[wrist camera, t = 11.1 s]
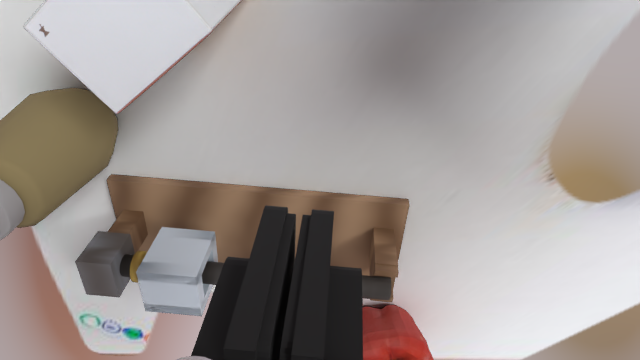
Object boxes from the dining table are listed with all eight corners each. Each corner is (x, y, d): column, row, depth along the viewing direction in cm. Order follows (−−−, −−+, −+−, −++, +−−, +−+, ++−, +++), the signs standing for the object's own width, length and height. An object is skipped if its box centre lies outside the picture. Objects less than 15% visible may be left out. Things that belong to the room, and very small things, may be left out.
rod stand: (408, 199, 43) (419, 265, 35) (393, 273, 48) (399, 345, 41) (111, 174, 44) (60, 233, 36) (129, 250, 49) (88, 316, 42)
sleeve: (215, 231, 41) (196, 277, 37) (218, 268, 44) (201, 316, 39) (161, 226, 42) (136, 271, 37) (168, 264, 44) (145, 310, 39)
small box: (187, 48, 36) (114, 118, 25) (126, -19, 34) (16, 26, 23) (261, -16, 33) (214, 31, 22) (199, -96, 31) (113, -86, 20)
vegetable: (380, 269, 48) (384, 349, 40) (450, 311, 51) (469, 394, 43) (321, 321, 53) (315, 401, 45) (388, 356, 56) (394, 438, 48)
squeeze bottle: (136, 94, 39) (-3, 225, 24) (125, 167, 43) (2, 317, 28) (42, 60, 38) (-167, 175, 23) (40, 138, 42) (-136, 278, 27)
